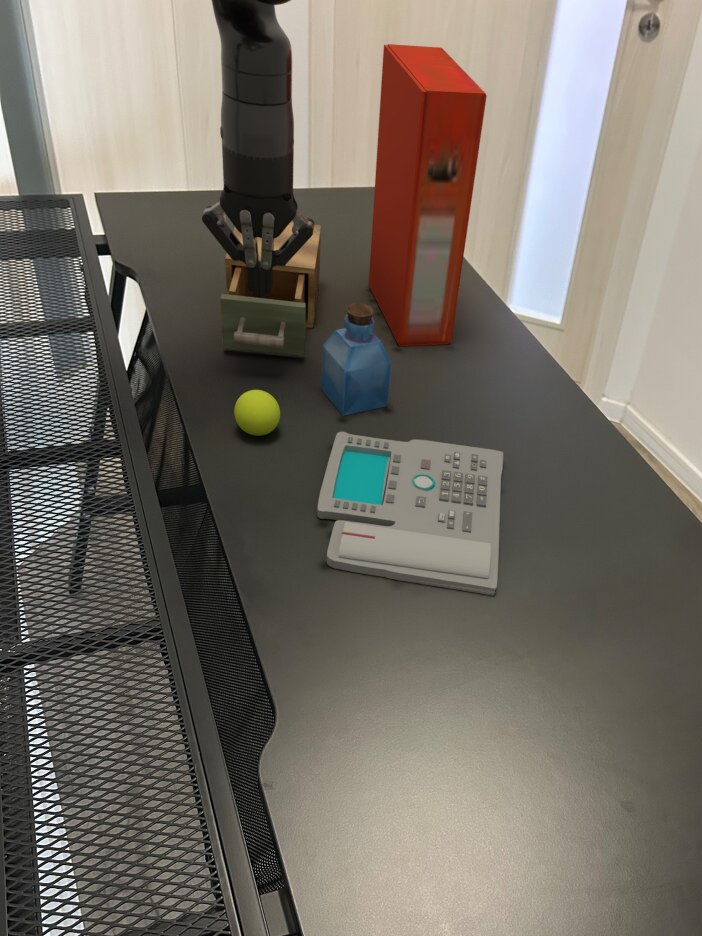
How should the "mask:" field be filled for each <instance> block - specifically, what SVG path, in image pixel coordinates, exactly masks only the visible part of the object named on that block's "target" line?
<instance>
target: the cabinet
mask: <svg viewBox="0 0 702 936" xmlns="http://www.w3.org/2000/svg"><path fill="white" fill-rule="evenodd" d="M293 224H294V222H293V221H291V222H290V223H289V225H288V226H287V227H286V228H285V230H284V231H283V232H282V233H281V234H280V236H278V237H277V238H275V240H274V251H275V250H279V248H280V247H281V246H282V245H283V244H284V243H285V242H286V240H287V239H288V238H289V237H290V236H291V235H292V234H293V233H292V226H293ZM232 232H233V233H234V234H235V236H236V237H237V238H238V240H239V241H240V242H241V243H242V245H243V238H242V234H241V233H240V232H239V231H238V230H237V229H236V227H235V226H234V228H233V230H232ZM321 236H322V225H321V224H314V231H313V235H312V237H311V238H310V239H309V240H308V241H307V242H306V243H305V244H304V245H303V246H302V247H301V248H300V250H299V251H298V252H297V253H296V254H295V255H294V256H293V257H292V258H291V259H290V260H289V261H288V263H287V264H286V265H285V266H279V265H277V266H274V267H273V270H281V271H290V272H299V273H306V319H305V328H307V329H309V328H310V329H314V324H315V317H316V310H317V301H318V294H319V287H320V274H321V273H320V271H321V269H320V268H321V243H322V242H321V241H322V239H321V238H322V237H321ZM257 242H258V253H259V261H261V244H262V238H259V237H257ZM224 257H225V258H224V265H225V267H224V268H225V285H226V286H225V287H226V294H228V295H229V289H230V285H231V282H232V278H233V275H234V271H235V268H236V265H237V266H246V264H245V263H244V262H242V261H240V260H238V261H234V260H232V259H231V257H230V256H229V255H228V254H227V253H225V256H224ZM246 267H247V266H246Z"/></svg>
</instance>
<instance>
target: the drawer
mask: <svg viewBox="0 0 702 936" xmlns="http://www.w3.org/2000/svg"><path fill="white" fill-rule="evenodd" d="M219 300H220V301H219V302H220V318H221V319H220V320H221V336H222V338H221V339H222V348H225V349H234V350H235V349H236V350H243V351H244V350H245V351H254V352H255V351H256V352H262V353H263V352H264V353H274V354H275V353H276V354H283V355H294V356H303V357H304V356H305V353H306V327H305V319H306V273H299V272H290V271H281V270H273V286H272V290H271V292H270V294H266V298H260V297H253V292H250V291H249V290H248V287H247V267H246V266H237V265H236V268H235V271H234V275H233V278H232V282H231V285H230V289H229V295H228V294H227V293H221V295H220V298H219Z"/></svg>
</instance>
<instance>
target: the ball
mask: <svg viewBox="0 0 702 936" xmlns="http://www.w3.org/2000/svg"><path fill="white" fill-rule="evenodd" d="M233 409H234V410H233V412H234V419H235V422H236V424H237V425H238V426H239V428H240V429H241V430H242V431H243V432H245V433H246V434H249V435H251V436H256V437H261V436H266V435H268V434H270V433H271V432H273V431H274V430H275V429H276V428H277V426H278V425H279V423H280V418H281V409H280V405H279V403H278V401H277V400H276V399H275V397H274V396H273V395H271V394H270V393H269V392H267V391H265V390H262V389H251V390H248V391H245V392H244V393H242V394H241V395H239V398H238V399H237V400H236V402H235V404H234V408H233Z"/></svg>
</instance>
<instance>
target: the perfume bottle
mask: <svg viewBox="0 0 702 936" xmlns="http://www.w3.org/2000/svg"><path fill="white" fill-rule="evenodd" d="M374 311H375V310H374V309H373V307H372V306H370V305H368V304H366V303H361V302H357V303H356V302H354V303H350V304H348V305H347V306H346V315H345V316H344V325H343V326H344V328H339V329H335V330H334V331H333V332H332V334H331V335H330V336H329V337H328V339H327V340H326V341H325V342H324V343H323V344H322V351H321V352H322V353H321V354H322V355H321V356H322V357H321V360H322V361H321V379H320V380H321V382H320V383H321V384H320V390H321V392H323V394H325V396H326V397H327V398H328V400H329V401H330V402H331V403H332V405H333V406H334V407H335V408H336V410H338V412H339V413H340V414H341V416H342V417H344V416H348V415H349V416H350V415H353V414H358V413H362V412H367V411H372V410H377V409H381V408H385V407H388V401H389V392H390V381H391V373H392V372H391V371H392V361H391V359H390V357H389V355H388V353H387V351H386V349H385V347H384V344H383V343H382V340H380V339H379V338H378V337H377V336H376V335H375V333H374V332H373V331H374V325H375V319H374V317H373V315H374V313H375V312H374Z"/></svg>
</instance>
